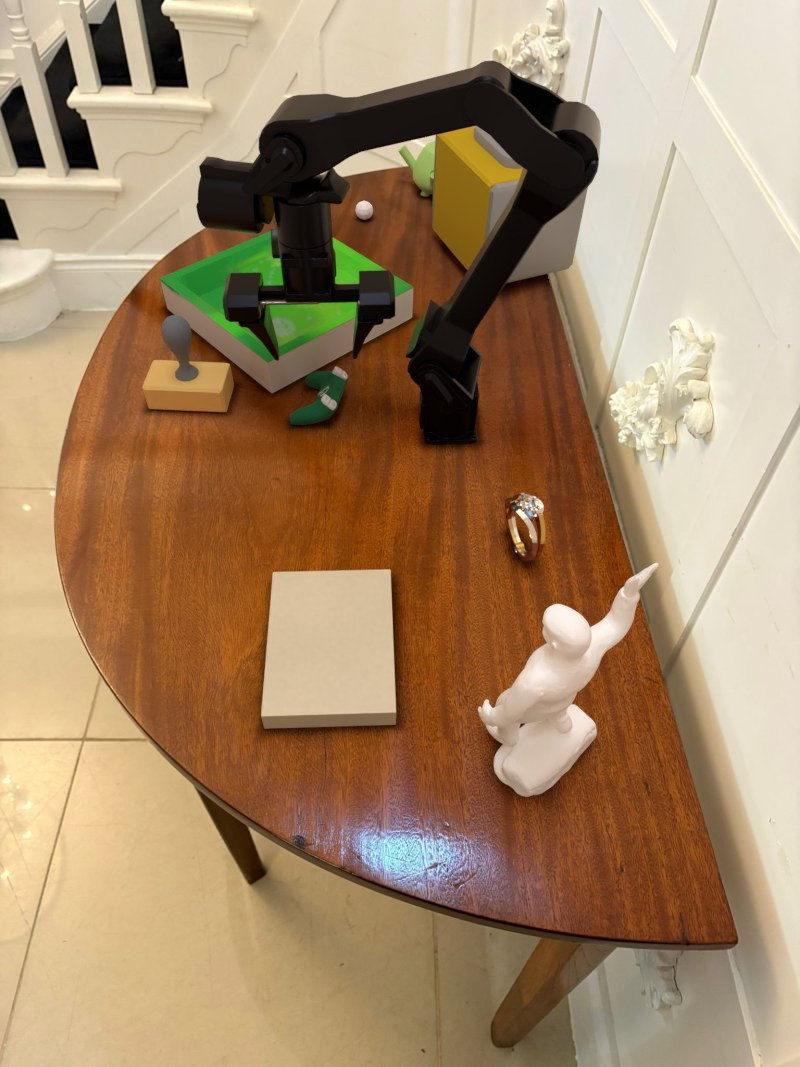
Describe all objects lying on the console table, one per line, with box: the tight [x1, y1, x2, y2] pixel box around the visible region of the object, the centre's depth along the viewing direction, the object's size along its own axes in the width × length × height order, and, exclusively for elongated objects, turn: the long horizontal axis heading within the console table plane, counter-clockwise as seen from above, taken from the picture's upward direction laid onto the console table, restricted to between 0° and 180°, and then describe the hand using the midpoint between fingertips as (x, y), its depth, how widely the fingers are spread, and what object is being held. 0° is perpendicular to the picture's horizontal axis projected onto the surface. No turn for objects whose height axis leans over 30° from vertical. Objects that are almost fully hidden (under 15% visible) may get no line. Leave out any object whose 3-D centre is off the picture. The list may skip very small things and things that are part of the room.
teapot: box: [397, 140, 435, 198], centre depth 132 cm, size 11×12×8 cm
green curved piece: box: [288, 366, 349, 426], centre depth 97 cm, size 9×4×6 cm
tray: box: [159, 230, 414, 394], centre depth 110 cm, size 25×25×5 cm
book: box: [260, 568, 397, 730], centre depth 75 cm, size 12×16×2 cm
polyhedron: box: [354, 200, 374, 221], centre depth 128 cm, size 3×3×3 cm
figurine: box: [477, 562, 659, 798], centre depth 60 cm, size 12×8×25 cm
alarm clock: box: [431, 126, 589, 284], centre depth 115 cm, size 20×16×18 cm
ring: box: [504, 492, 547, 562], centre depth 81 cm, size 7×3×8 cm, turn 14°
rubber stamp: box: [141, 314, 235, 413], centre depth 95 cm, size 10×6×12 cm, turn 87°
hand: (316, 357), depth 93 cm, fingers open, 9 cm apart
